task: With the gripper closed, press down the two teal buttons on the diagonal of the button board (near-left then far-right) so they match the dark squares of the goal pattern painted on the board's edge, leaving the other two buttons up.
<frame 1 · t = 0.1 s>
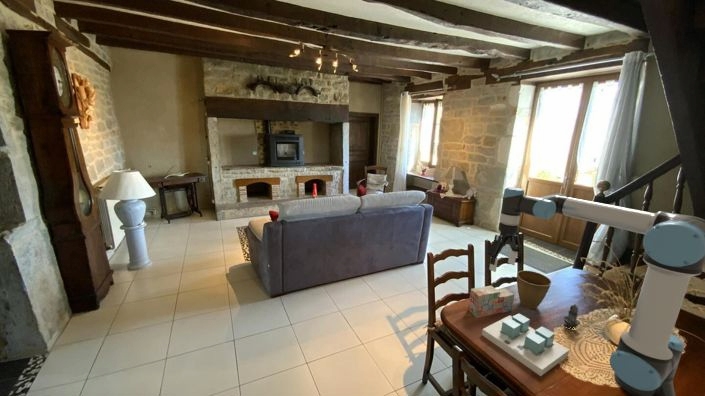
hand: (502, 267, 131), 28 cm above the table, fingers open, 13 cm apart
dark grey tall piece: (569, 327, 134), on the table
btn b: (520, 323, 127), point 6 cm above the table, slide at 0.0 cm
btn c: (534, 343, 116), point 6 cm above the table, slide at 0.0 cm
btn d: (510, 328, 124), point 6 cm above the table, slide at 0.0 cm
board: (522, 345, 122), on the table
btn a: (544, 337, 119), point 6 cm above the table, slide at 0.0 cm
plant pot: (528, 305, 150), on the table
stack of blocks: (489, 311, 145), on the table
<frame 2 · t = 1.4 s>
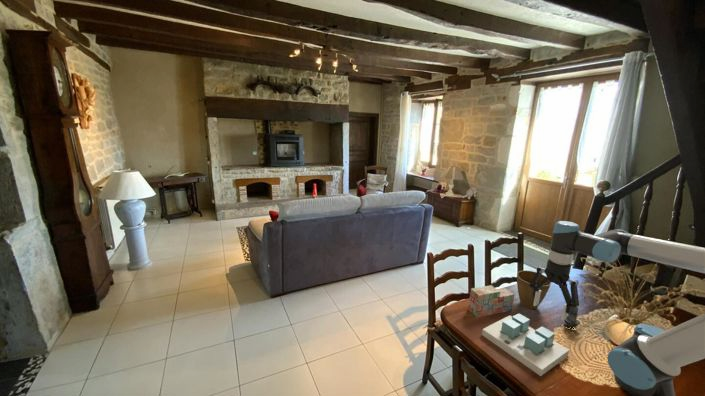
hand: (549, 311, 116), 18 cm above the table, fingers open, 10 cm apart
nothing on the table moved.
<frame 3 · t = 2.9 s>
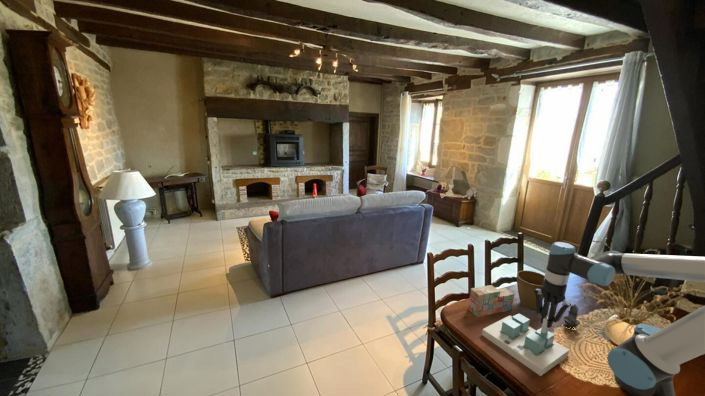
hand: (544, 331, 119), 8 cm above the table, fingers closed
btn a: (543, 338, 119), point 5 cm above the table, slide at 0.5 cm, touching gripper
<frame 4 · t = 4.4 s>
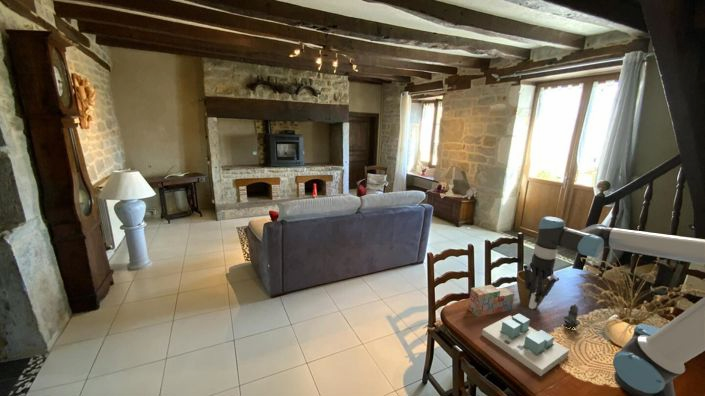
hand: (532, 307, 119), 17 cm above the table, fingers closed
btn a: (543, 340, 119), point 4 cm above the table, slide at 1.7 cm
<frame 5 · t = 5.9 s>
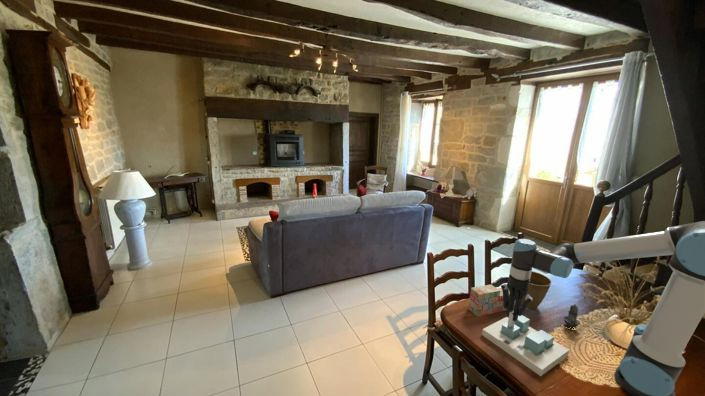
hand: (510, 325, 124), 7 cm above the table, fingers closed
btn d: (510, 331, 124), point 4 cm above the table, slide at 1.5 cm, touching gripper
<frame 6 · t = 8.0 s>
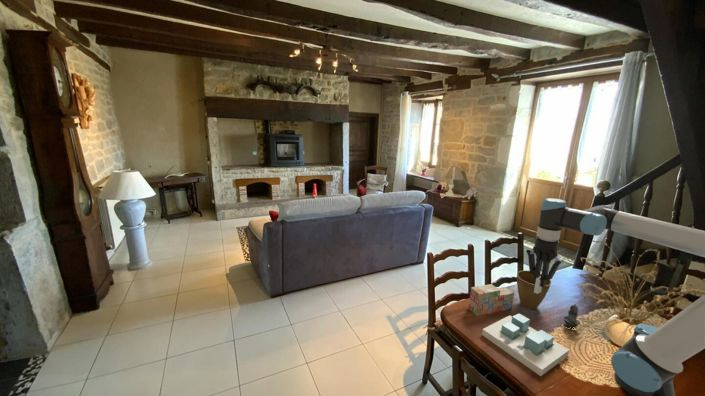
hand: (537, 292, 118), 24 cm above the table, fingers closed
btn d: (510, 331, 124), point 4 cm above the table, slide at 1.7 cm
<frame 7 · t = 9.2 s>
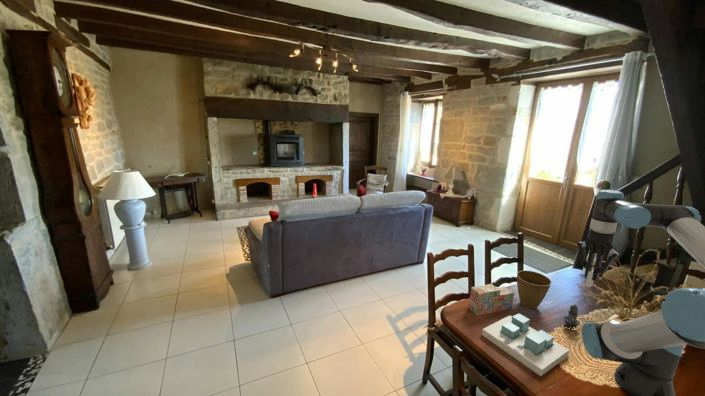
hand: (588, 285, 115), 28 cm above the table, fingers closed
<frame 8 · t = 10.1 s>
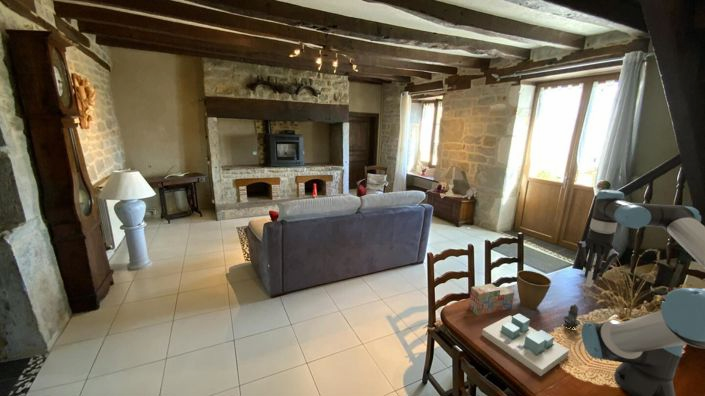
hand: (588, 285, 115), 28 cm above the table, fingers closed
at the end: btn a slide at 1.7 cm; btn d slide at 1.7 cm; btn b slide at 0.0 cm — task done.
